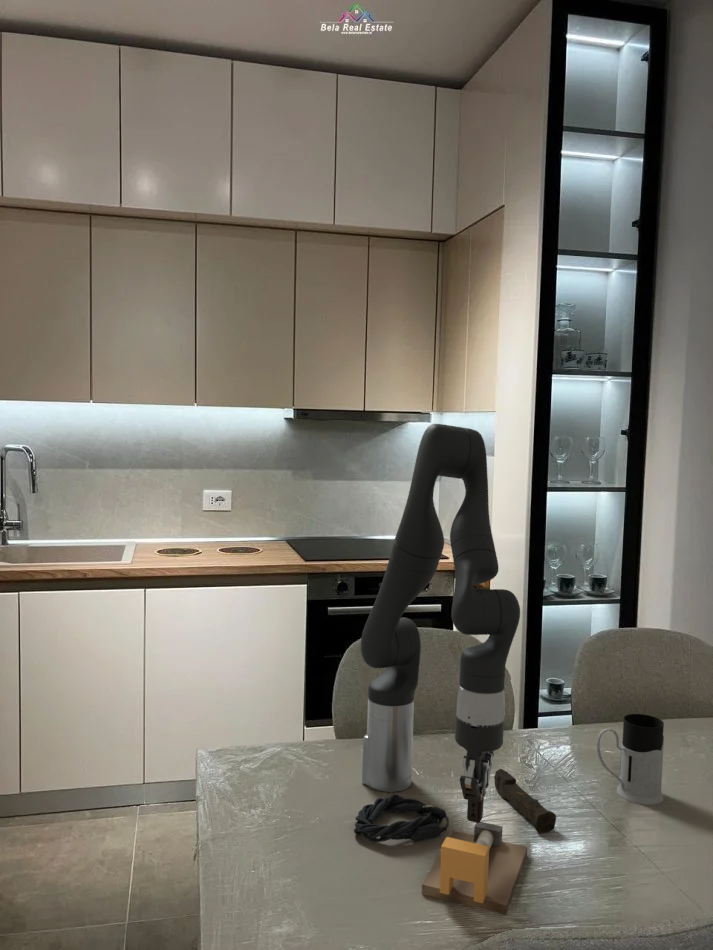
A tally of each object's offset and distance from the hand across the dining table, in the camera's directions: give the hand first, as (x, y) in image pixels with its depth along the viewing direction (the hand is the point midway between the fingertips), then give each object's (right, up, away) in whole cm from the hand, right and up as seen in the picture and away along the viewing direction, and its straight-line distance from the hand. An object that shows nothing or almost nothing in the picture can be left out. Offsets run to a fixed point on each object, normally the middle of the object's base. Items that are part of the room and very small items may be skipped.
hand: (474, 819), depth 127 cm
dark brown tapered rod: (+12, -9, +24) cm, 28 cm away
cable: (-12, -9, +16) cm, 22 cm away
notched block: (-3, -8, -7) cm, 11 cm away
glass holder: (+35, -9, +31) cm, 47 cm away
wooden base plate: (+1, -9, +1) cm, 9 cm away
